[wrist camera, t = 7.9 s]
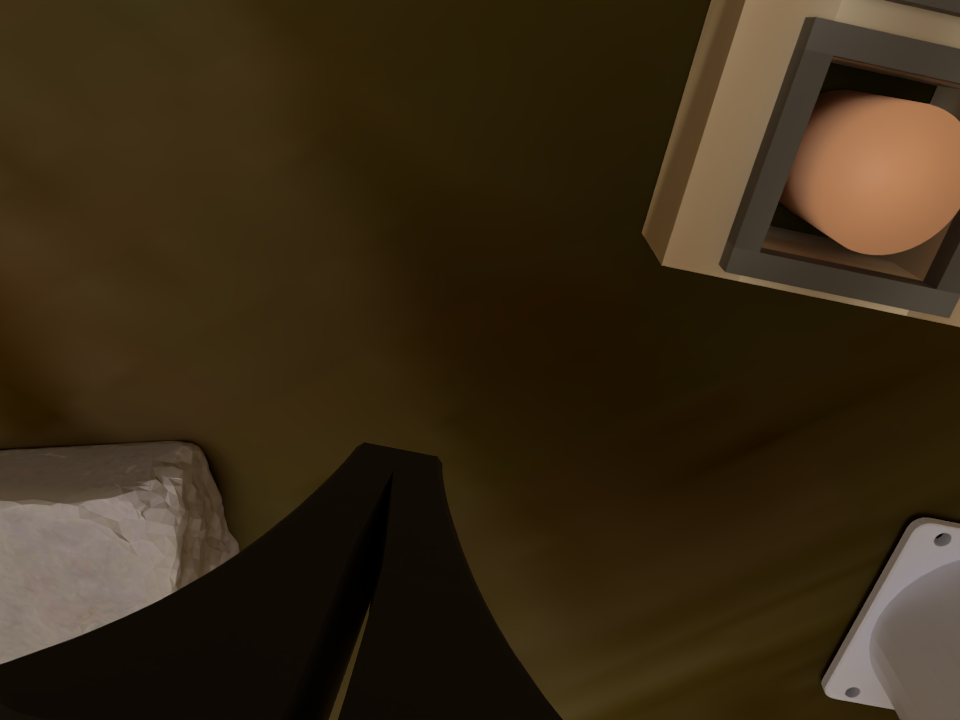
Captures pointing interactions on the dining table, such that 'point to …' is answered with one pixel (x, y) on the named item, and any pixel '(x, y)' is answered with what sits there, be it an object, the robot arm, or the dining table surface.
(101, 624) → the stone block
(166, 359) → the dining table surface
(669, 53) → the dining table surface
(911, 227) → the peg
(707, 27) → the socket block
